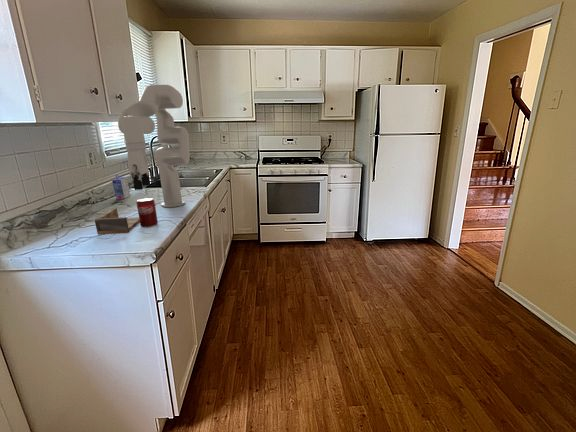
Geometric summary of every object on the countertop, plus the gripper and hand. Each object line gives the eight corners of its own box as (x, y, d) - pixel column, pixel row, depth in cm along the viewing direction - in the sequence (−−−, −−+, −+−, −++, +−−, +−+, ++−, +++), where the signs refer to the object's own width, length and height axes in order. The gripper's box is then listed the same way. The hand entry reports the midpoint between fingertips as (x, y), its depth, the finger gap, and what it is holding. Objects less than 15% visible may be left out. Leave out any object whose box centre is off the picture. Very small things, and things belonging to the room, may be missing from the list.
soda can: (154, 227, 134) (149, 201, 131) (137, 228, 134) (132, 201, 131) (160, 222, 141) (156, 197, 138) (145, 222, 141) (140, 197, 138)
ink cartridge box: (121, 196, 198) (117, 173, 193) (130, 195, 198) (126, 173, 194) (115, 199, 188) (110, 176, 184) (125, 199, 189) (120, 175, 185)
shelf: (116, 221, 145) (113, 208, 143) (142, 219, 146) (140, 206, 144) (97, 234, 128) (94, 219, 126) (127, 232, 129) (125, 218, 127)
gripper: (134, 146, 136) (140, 184, 140) (118, 149, 119) (125, 192, 124) (151, 145, 136) (157, 183, 141) (138, 148, 120) (145, 191, 125)
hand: (142, 187), depth 132 cm, fingers open, 9 cm apart
